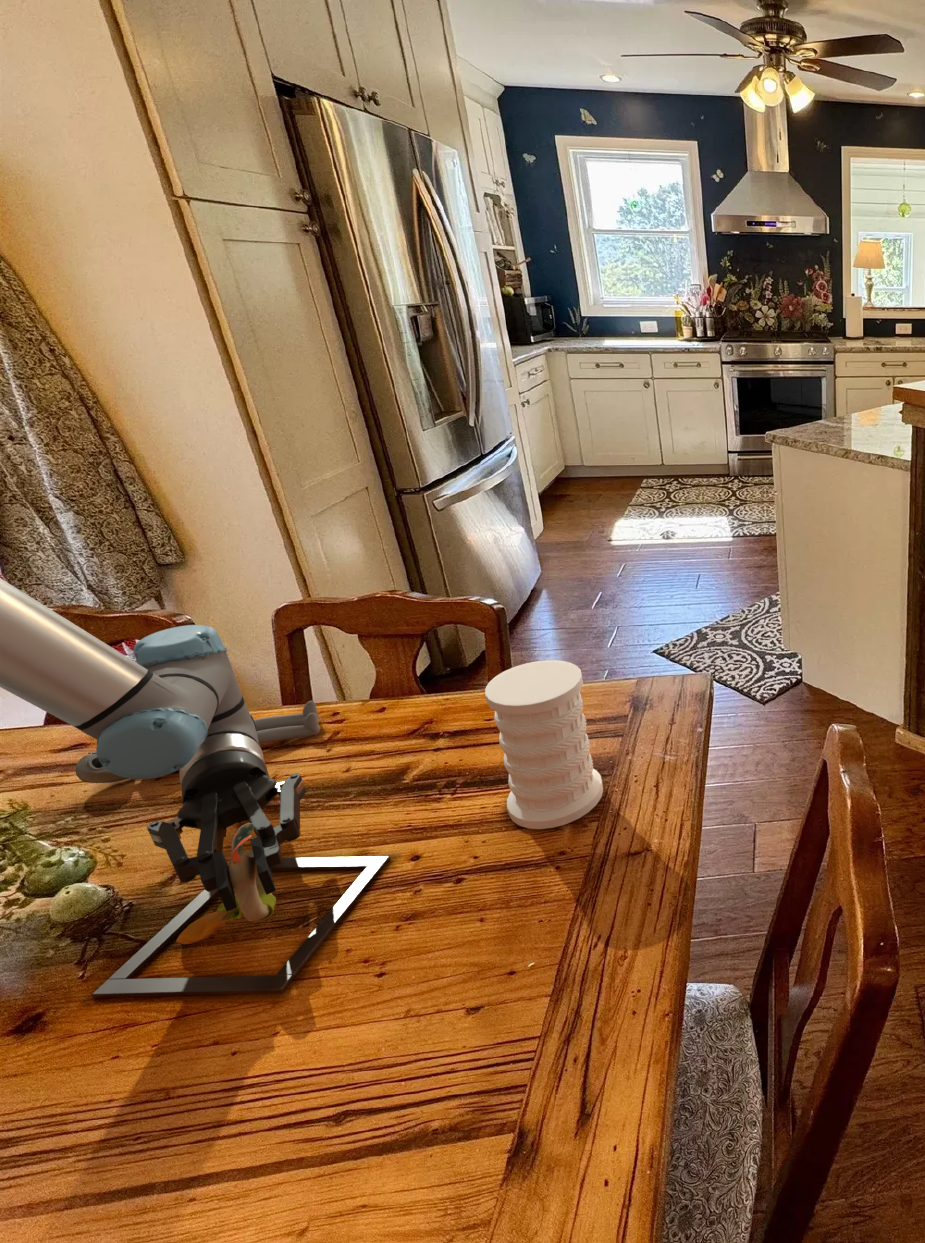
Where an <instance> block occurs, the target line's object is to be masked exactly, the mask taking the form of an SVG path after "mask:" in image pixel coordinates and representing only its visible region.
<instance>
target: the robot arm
mask: <svg viewBox="0 0 925 1243" xmlns="http://www.w3.org/2000/svg"><path fill="white" fill-rule="evenodd" d="M133 646H134V647H133V653H134V656H135V659H136V661H134V660H133V659H131V658H130V657H127V655H125V654H123V653H122V652H120V651H118V650H117V649H115V648H113V647H112V646H110V645H109V644H107V643H105V642H104V641H102V640H100V639H99V638H98V637H96V636H94V635H92V634H91V633H89V632H88V631H86V630H85V629H83V628H81V627H80V626H78V625H77V624H75V623H73V622H72V621H70V620H68V619H67V618H65V617H64V616H62V615H60V614H59V613H57V612H55V611H54V610H52V609H51V608H49V607H47V606H46V605H45V604H43V603H42V602H40V601H38V600H36V599H35V598H33V597H32V596H30V595H28V594H27V593H25V592H23V591H22V590H21V589H19V588H17V587H16V586H14V585H12V584H11V583H9V582H8V581H7V580H5V579H3V578H1V577H0V688H1V689H3V690H5V691H6V692H9V693H10V694H12V695H14V696H16V697H18V698H20V699H21V700H23V701H24V702H27V703H29V704H31V705H33V706H35V707H37V708H39V709H41V710H42V711H44V712H46V713H48V714H49V715H52V716H54V718H57V719H58V720H60V721H63V722H65V723H67V724H68V725H70V726H72V727H74V728H76V729H77V730H79V731H80V732H82V733H84V734H85V735H87V736H89V737H91V738H94V739H95V740H96V749H95V752H96V754H97V757H98V759H99V761H100V763H101V764H102V765H103V767H104V768H105V769H106V770H108V771H109V772H111V773H113V774H115V775H118V776H121V777H125V778H130V779H131V780H151V779H157V778H161V777H165V776H168V775H171V774H173V773H175V772H177V771H178V774H179V782H180V790H181V791H180V792H181V801H182V806H181V807H180V808H179V809H178V810H177V813H176V816H175V817H174V818H172V819H170V820H168V821H163V820H155V821H152V822H149V823H148V824H147V825H146V830H147V832H148V833H149V836H150V838H151V840H152V842H153V845H154V846H156V847H157V848H160V849H163V850H165V851H166V853H167V856H168V858H169V859H170V860H169V861H170V863H171V864H172V867H173V869H174V871H175V873H176V875H177V877H178V879H179V882H180V883H187V882H190V881H192V880H194V879H195V878H196V877H197V876H199V880H200V882H201V884H202V886H203V888H204V889H205V890H206V891H208V892H209V891H212V890H214V889H217V891H218V893H219V894H218V896H219V897H220V900H221V903H223V904H224V907H225V909H226V911H230V910H232V909H234V908H237V905H236V899H235V895H236V892H235V890H234V888H233V886H232V884H231V881H230V877H229V863H228V861H227V859H226V857H225V854H224V851H223V849H224V848H223V847H224V839H225V838H226V836H227V830H228V828H230V827H232V826H233V825H236V824H238V823H239V824H240V823H243V822H247V823H253V824H254V829H253V831H252V832H253V833H254V834H255V837H253V838H252V837H251V838H249V842H250V844H251V850H253V854H254V859H255V863H256V868H257V873H258V876H259V878H260V881H261V883H262V886H263V888H264V890H265V893H266V895H267V894H270V893H272V894H273V893H275V892H276V891H277V890H276V889H277V888H276V884H275V881H274V877H273V873H272V872H273V871H271V868H270V867H272V866H274V865H277V864H279V863H282V860H283V858H284V857H283V852H282V850H281V846H282V844H283V843H285V842H294V841H296V840H297V839H299V838H300V837H301V800H302V798H303V797H304V796H305V794H306V793H307V789H306V786H305V784H304V781H303V777H302V774H301V773H297V772H296V773H293V774H290V775H289V776H288V777H287V778H286V779H285V781H278V782H277V781H276V779H275V778H272V777H270V774H269V771H268V768H267V764H266V760H265V756H264V753H263V750H262V748H261V744H259V741H258V737H257V728H256V724H255V722H254V720H255V719H254V716H253V714H252V713H250V711H249V708H248V706H247V703H246V700H245V699H244V696H243V694H242V691H241V689H240V686H239V682H238V680H237V676H236V675H235V672H234V669H233V667H232V664H231V661H230V658H229V655H228V653H227V652H228V648H227V647H225V645H224V643H223V641H222V638H221V637H220V635H219V632H218V631H217V629H215V628H214V627H211V626H210V625H209V626H208V625H205V624H187V625H186V624H185V625H180V626H174V627H170V628H165V629H163V630H159V631H156V632H153V633H151V634H148V635H146V636H144V637H143V638H141V639H140V640H138V641H137V642H136V643H135V645H133ZM130 779H129V780H130ZM277 795H278V796H279V825H277V826H275V827H273V824H272V822H271V821H269V818H268V817H267V816H266V813H264V811H263V810H264V809H265V808H266V807H267V806H268V805H269V804H270V803H271V802H272V801H273V800H274V799H275V798H276V797H277ZM183 828H190V829H197V830H200V831H199V836H198V837H199V839H198V844H197V851H196V856H193V857H189V855H188V853H187V852H186V849H185V847H184V845H183V843H182V840H181V839H182V836H181V835H182V834H183V832H184V830H183Z"/></svg>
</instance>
